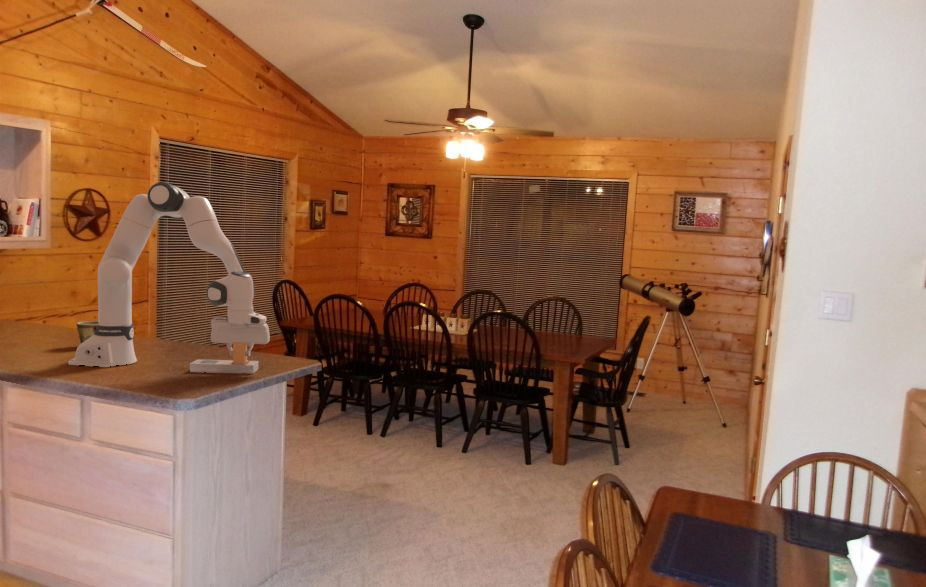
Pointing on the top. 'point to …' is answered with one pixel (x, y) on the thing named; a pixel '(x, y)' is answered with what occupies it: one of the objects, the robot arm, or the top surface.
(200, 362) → the white recessed tray
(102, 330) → the robot arm
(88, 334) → the ceramic cup
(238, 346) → the square peg
